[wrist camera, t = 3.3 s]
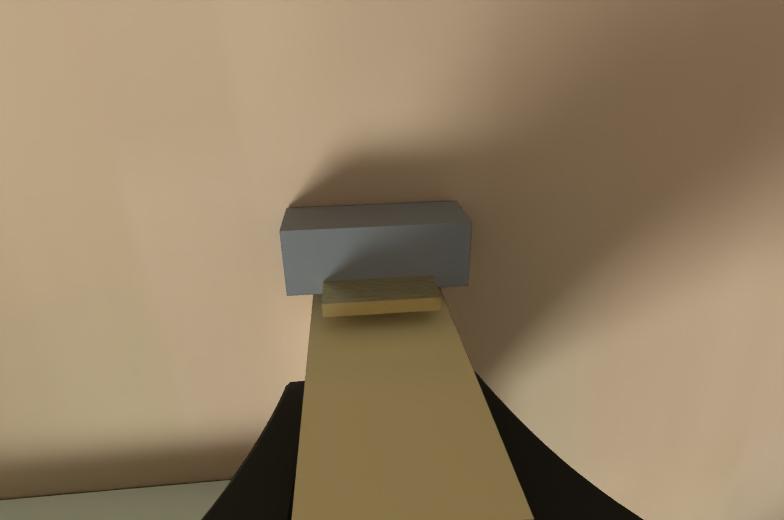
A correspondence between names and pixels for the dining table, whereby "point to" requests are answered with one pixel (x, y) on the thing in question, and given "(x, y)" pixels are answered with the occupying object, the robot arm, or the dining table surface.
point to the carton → (398, 425)
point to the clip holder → (376, 255)
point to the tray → (120, 504)
